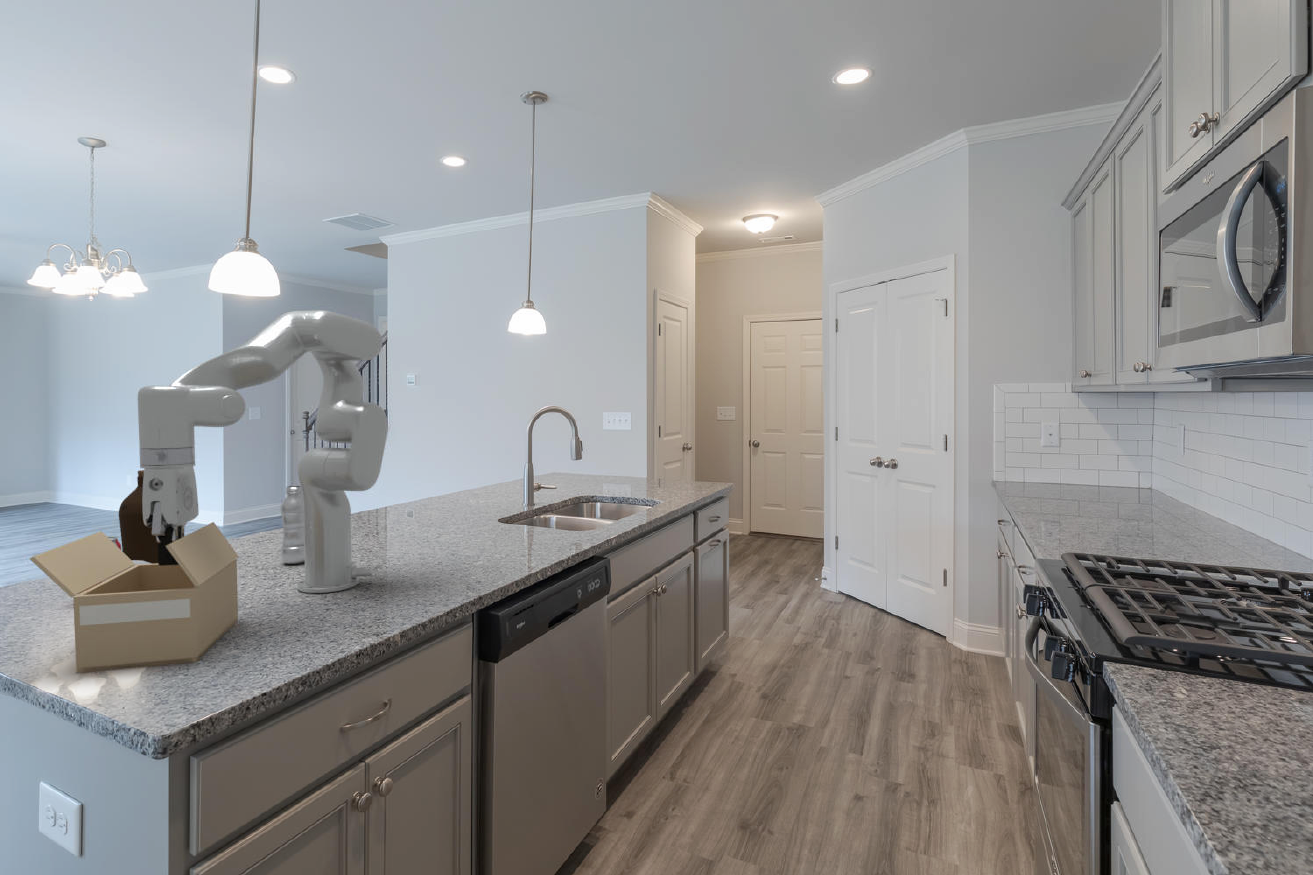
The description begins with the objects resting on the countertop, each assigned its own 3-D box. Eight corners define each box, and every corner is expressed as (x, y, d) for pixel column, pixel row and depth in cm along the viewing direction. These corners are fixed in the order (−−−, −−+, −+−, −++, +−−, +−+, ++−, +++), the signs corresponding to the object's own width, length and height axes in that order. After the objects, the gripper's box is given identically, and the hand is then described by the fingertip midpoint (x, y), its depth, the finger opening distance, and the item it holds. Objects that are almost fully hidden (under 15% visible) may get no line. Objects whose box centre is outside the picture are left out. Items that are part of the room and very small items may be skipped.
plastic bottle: (288, 560, 168) (286, 484, 167) (315, 559, 169) (313, 484, 168) (275, 566, 162) (274, 488, 161) (303, 566, 162) (302, 488, 161)
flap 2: (165, 546, 101) (169, 544, 102) (210, 523, 120) (213, 521, 120) (196, 587, 103) (199, 585, 103) (235, 558, 121) (238, 556, 122)
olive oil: (160, 578, 150) (157, 472, 148) (109, 580, 148) (105, 473, 147) (186, 567, 160) (183, 468, 159) (139, 568, 159) (135, 468, 157)
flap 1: (101, 531, 115) (98, 533, 115) (33, 556, 97) (29, 558, 96) (135, 563, 117) (132, 566, 117) (74, 594, 98) (71, 597, 98)
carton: (238, 620, 122) (236, 559, 122) (196, 662, 103) (194, 589, 103) (138, 628, 118) (136, 564, 117) (76, 673, 99) (72, 597, 98)
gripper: (174, 462, 103) (178, 574, 104) (210, 454, 117) (213, 552, 118) (119, 462, 101) (123, 577, 102) (161, 454, 115) (165, 555, 116)
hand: (171, 563), depth 110 cm, fingers closed
